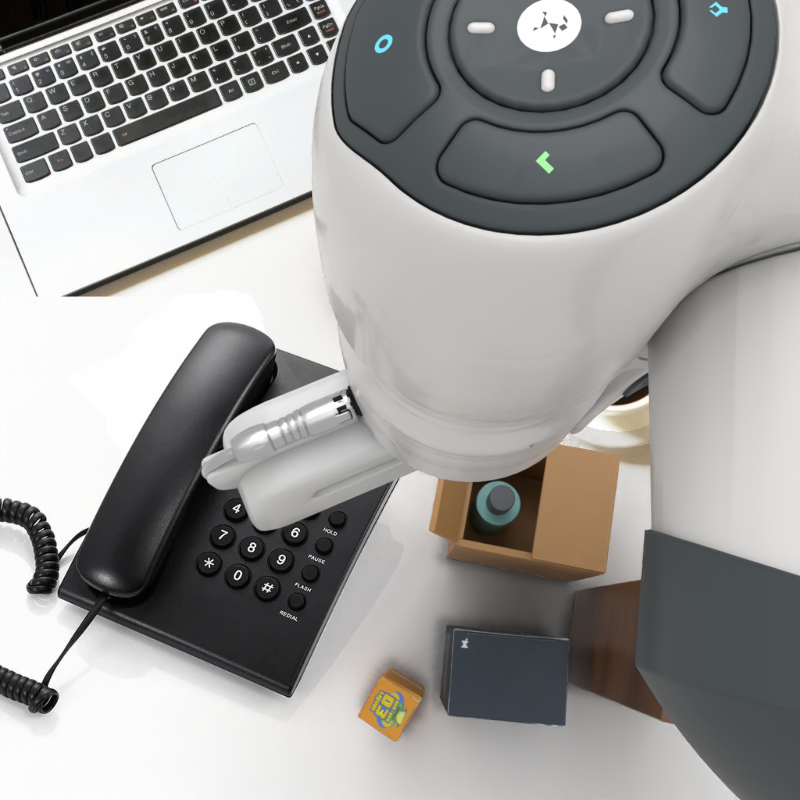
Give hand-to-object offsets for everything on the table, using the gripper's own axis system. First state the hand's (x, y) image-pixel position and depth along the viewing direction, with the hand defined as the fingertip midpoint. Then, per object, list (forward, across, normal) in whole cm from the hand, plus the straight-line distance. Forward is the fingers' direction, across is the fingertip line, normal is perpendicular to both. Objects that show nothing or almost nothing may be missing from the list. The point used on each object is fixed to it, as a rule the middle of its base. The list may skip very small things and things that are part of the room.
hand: (449, 436), depth 41 cm
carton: (+25, +6, -4) cm, 26 cm away
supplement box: (+26, -9, -12) cm, 30 cm away
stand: (+25, +8, -16) cm, 31 cm away
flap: (+11, +1, -1) cm, 11 cm away
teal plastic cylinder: (+25, +4, -3) cm, 25 cm away
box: (+26, -1, -13) cm, 29 cm away
